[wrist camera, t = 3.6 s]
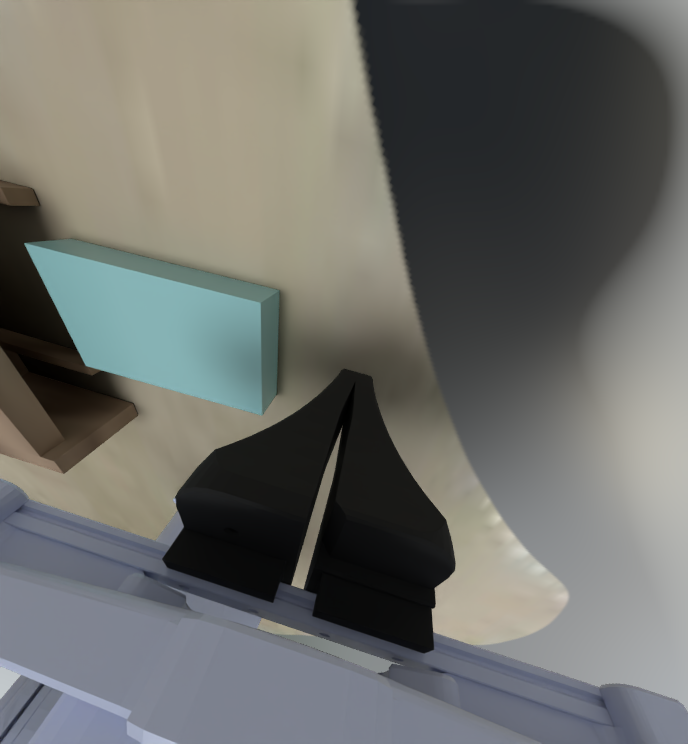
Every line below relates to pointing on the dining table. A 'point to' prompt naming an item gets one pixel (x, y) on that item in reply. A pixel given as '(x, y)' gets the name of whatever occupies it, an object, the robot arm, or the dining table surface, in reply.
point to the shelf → (50, 394)
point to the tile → (165, 322)
